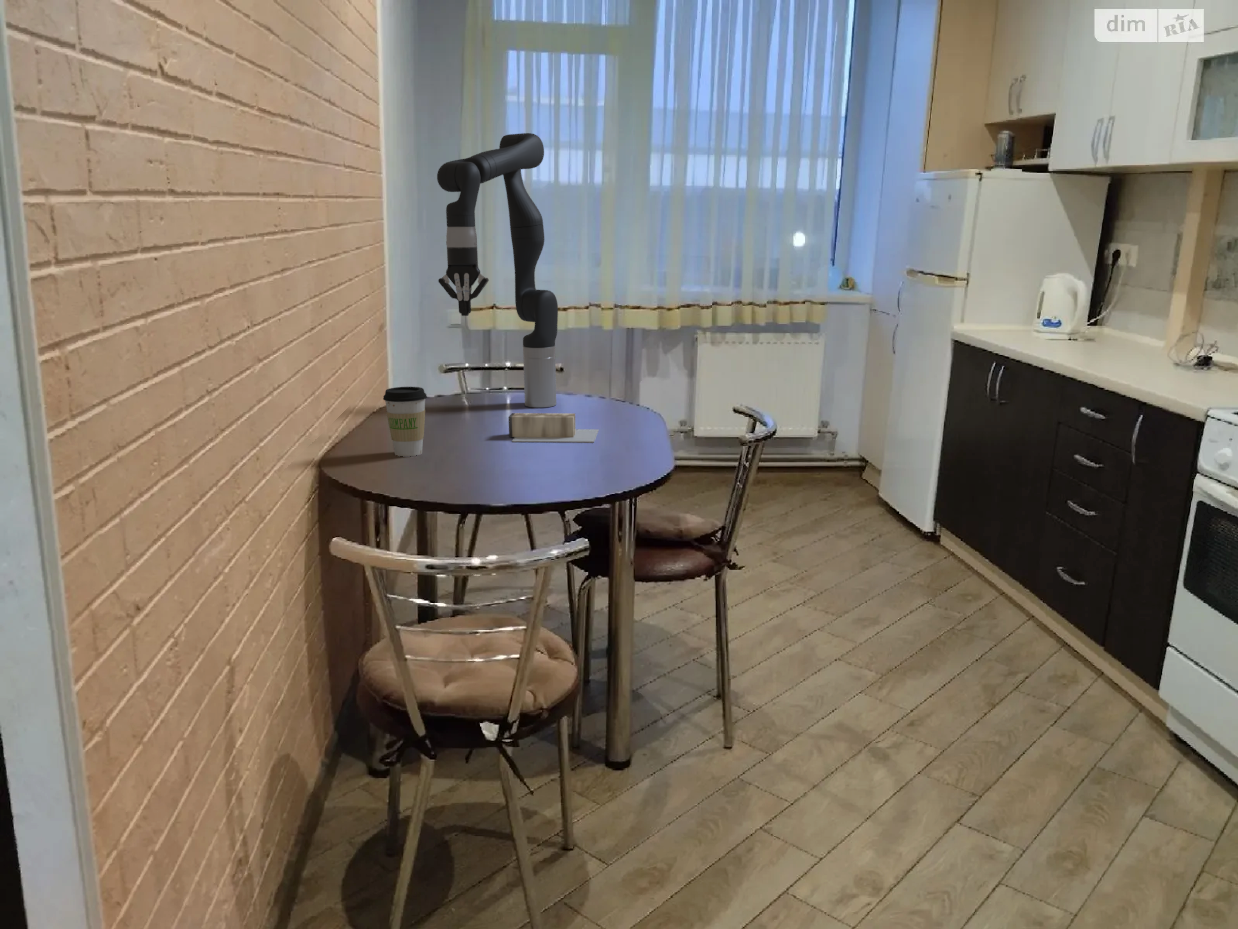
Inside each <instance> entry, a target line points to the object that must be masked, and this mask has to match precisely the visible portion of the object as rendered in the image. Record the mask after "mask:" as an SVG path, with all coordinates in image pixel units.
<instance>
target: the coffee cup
mask: <svg viewBox="0 0 1238 929" xmlns="http://www.w3.org/2000/svg"><path fill="white" fill-rule="evenodd" d="M427 398H428V395H427V393H426V392H425V389H424V388H423V387H421V386H420V387H419V386H399V387H398V386H397V387H391V388H387V389H386V390H385V392H384V395H383V398H382V400H383V401H385V406H386V411H385V412H386V416H387V417H386V418H387V421H388V427H389V432H390V438H391V441H392V446H393V450H394V456H396V455H398V456H397V457H400V456H403V457H404V458H405V457H406V458H408V457H409V458H410V456H411V457H417V456H420V455H422V454H423V447H424V446H423V443H424V442H423V440H424V437H425V421H426V420H425V419H426V399H427ZM416 455H417V456H416ZM403 457H402V458H403Z"/></svg>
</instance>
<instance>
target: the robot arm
mask: <svg viewBox="0 0 1238 929" xmlns="http://www.w3.org/2000/svg"><path fill="white" fill-rule="evenodd" d="M498 146H499V148H495V149H490V150H485V151H481V152H479V153H477V154H474V155H472V156H469V157H467V158H460V159H455V160H450V161H448V162H445V163H443V164H442V165H441V166H440V167H439V168H438V170H437V173H436V180H437V183H438V185H439V187H440V188H441V189H442V190H444V191H445V192H448V193H449V192H450V193H459V197H458V199H457V200H456V201H451V202H450V203H448V204H447V205H446V208H445V209H446V210H445V214H446V216H445V217H446V218H445V219H446V233H445V234H446V235H445V236H446V239H445V240H446V241H445V242H446V244H445V245H446V259H447V260H446V261H447V268H446V271H445V274H444V275H443V276H442V277H441V278H439V279H438V280H437V282H438V283H439V284H440V286H441V287H442V288H443V289H444V290H445V292H446V293H447V294H448V295H449V297H450V298H451V299H455V300H456V301H458V312H459V314H461V315H460V316H462V317H464V316H465V317H467V316H469V315H470V314H471V313H472V300H473V299H475V298H478V297H479V295H480V294H481V292H482V291H483V289H485V287H486V286H487V284H488V283H489V281H490V280H489V278H488V277H485V276H484V275H483V274H481V270H480V268H479V265H478V264H479V262H478V260H479V258H478V237H477V231H476V229H477V228H476V212H475V211H476V206H477V202H478V195H479V191H480V186H481V184H484V183H487V182H489V181H491V180H494V179H496V178H499V177H501V176H503V181H504V186H505V192H506V200H507V207H508V217H509V229H510V237H511V246H512V253H513V265H514V266H513V267H514V299H515V300H514V301H515V302H514V304H515V310H516V313H517V315H518V317H519V319H520V320H522V321H524V322H528V323H534V329H533V331H532V332H531V333H529V334H526V335H524V336H523V338H522V357H523V360H522V361H523V383H524V384H523V386H524V388H523V389H524V390H523V392H524V394H523V395H524V406H526V407H527V408H528V407H529V408H549V407H550V408H551V407H554V406H556V405H557V375H556V374H557V370H556V367H557V366H556V339H557V335H558V319H559V309H558V308H559V306H558V305H559V304H558V299H557V297H556V295H555V293H554V292H552V291H551V290H549V289H536V281H535V280H536V276H535V271H536V268H537V265H538V261H539V258H540V257H541V254H542V252H543V249H544V246H545V230H544V228H545V227H544V221H543V220H544V219H543V215H542V214H541V212H540V210H539V209H538V206H537V204H536V203H535V202H534V201H533V200H532V198H531V196H530V195H529V193H528V191H527V189H526V187H525V185H524V180H523V177H522V176H523V175H522V171H521V170H530V169H531V170H532V169H535V168H537V167H539V166H540V165H541V164H542V162H543V160H544V156H545V148H544V144H543V141H542V139H541V138H540V136H539V135H537V134H535V133H531V132H530V133H529V132H526V133H525V132H522V133H512V134H511V133H510V134H505V135H503V136H501V139H500V142H499V145H498ZM476 281H477V283H478V285H477V286H476V288H474V291H472V289H473V288H472V286H474V284H475V283H476ZM450 282H451V283H452V284H453V285H454V286H455V290H454V288H453V287H452V286H451V285H450Z"/></svg>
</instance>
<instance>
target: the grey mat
mask: <svg viewBox="0 0 1238 929" xmlns="http://www.w3.org/2000/svg"><path fill="white" fill-rule="evenodd" d="M575 429H576V433H575V435H574V437H513V439H512V440H511V442H512V443H581V444H582V443H585V444H586V443H587V444H588V443H590V444H591V443H595V441H596V439H597V436H598V434H599V432H600V429H593V428H592V429H591V428H589V429H585V428H583V429H582V428H580V429H579V428H578V429H577V428H575Z"/></svg>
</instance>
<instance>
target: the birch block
mask: <svg viewBox="0 0 1238 929" xmlns="http://www.w3.org/2000/svg"><path fill="white" fill-rule="evenodd" d="M576 429H577V428H576V413H573V412H572V413H571V412H570V413H565V412H564V413H561V412H559V413H557V412H556V413H553V412H552V413H550V412H549V413H548V412H547V413H546V412H543V413H542V412H541V413H540V412H537V413H536V412H532V413H531V412H529V413H528V412H525V413H524V412H511V414H510V415H509V416H508V437H509V438H515V437H574V435H575V433H576Z"/></svg>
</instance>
